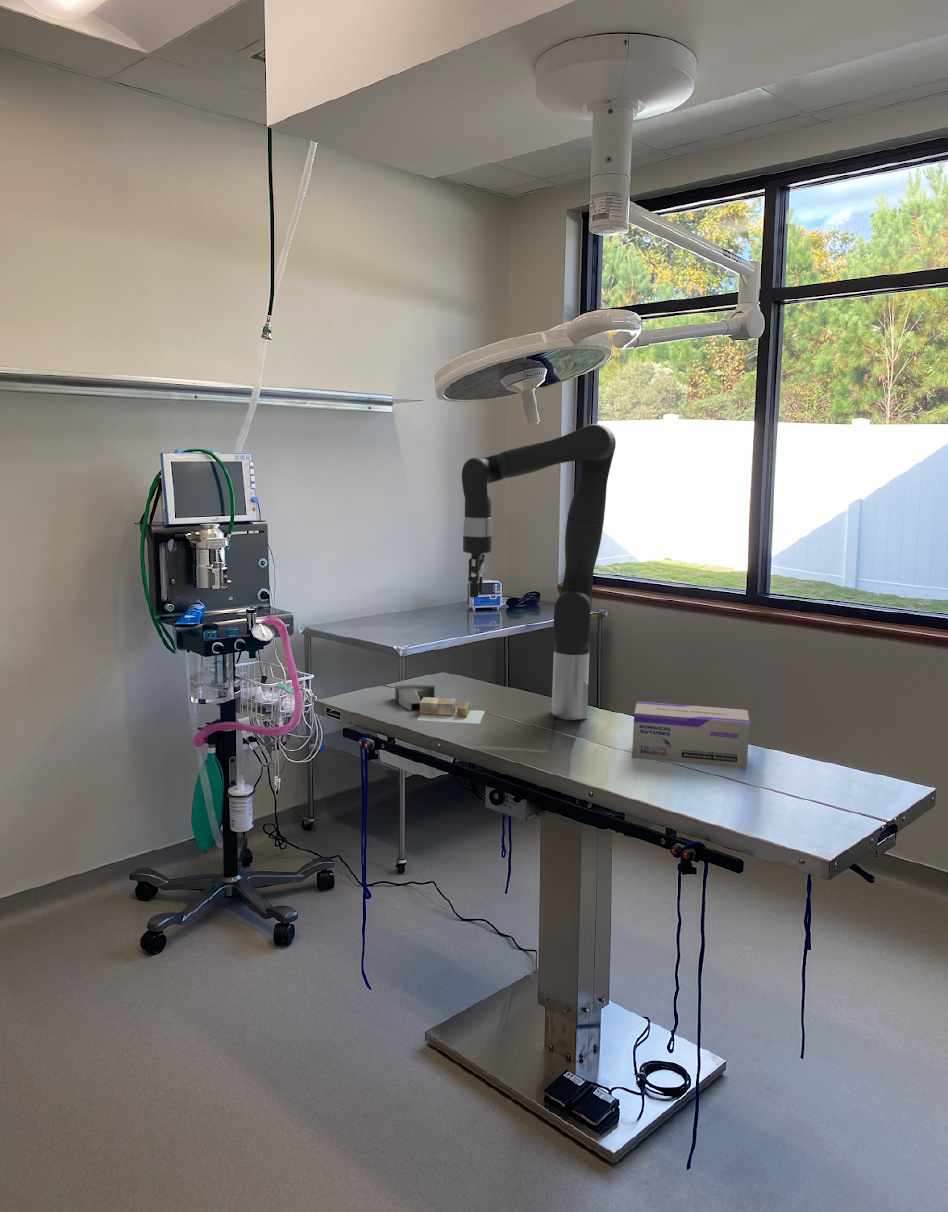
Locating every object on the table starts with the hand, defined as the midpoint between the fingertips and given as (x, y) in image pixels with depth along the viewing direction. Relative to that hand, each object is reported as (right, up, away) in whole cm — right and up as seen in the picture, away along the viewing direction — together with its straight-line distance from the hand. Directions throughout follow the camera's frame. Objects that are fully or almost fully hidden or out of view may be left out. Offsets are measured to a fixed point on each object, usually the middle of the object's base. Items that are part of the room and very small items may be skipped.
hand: (476, 595), depth 248 cm
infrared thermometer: (-15, -30, +4) cm, 34 cm away
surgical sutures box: (+49, -38, -35) cm, 71 cm away
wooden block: (-6, -29, -7) cm, 31 cm away
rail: (-3, -32, -7) cm, 32 cm away
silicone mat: (-6, -32, -8) cm, 33 cm away
